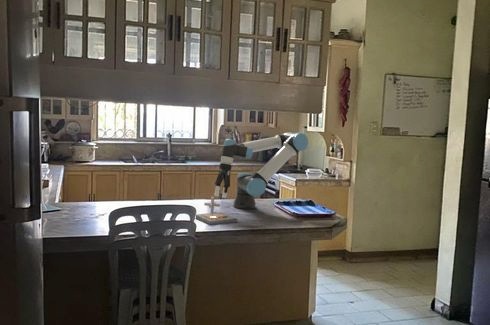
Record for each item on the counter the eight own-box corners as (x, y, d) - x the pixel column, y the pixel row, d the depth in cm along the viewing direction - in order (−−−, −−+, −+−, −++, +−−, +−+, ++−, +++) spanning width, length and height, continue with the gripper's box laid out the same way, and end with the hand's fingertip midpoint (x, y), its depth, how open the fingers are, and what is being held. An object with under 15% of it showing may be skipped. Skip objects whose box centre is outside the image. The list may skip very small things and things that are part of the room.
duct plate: (220, 215, 282) (220, 212, 282) (236, 221, 267) (236, 218, 267) (194, 217, 272) (194, 214, 272) (209, 224, 257) (209, 221, 257)
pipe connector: (217, 214, 283) (218, 199, 282) (202, 213, 285) (202, 197, 284) (221, 211, 293) (222, 196, 292) (206, 210, 294) (207, 195, 293)
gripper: (213, 162, 298) (208, 194, 297) (227, 163, 275) (221, 197, 274) (224, 164, 301) (218, 196, 300) (239, 165, 278) (232, 199, 277)
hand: (220, 197), depth 287 cm, fingers open, 13 cm apart
